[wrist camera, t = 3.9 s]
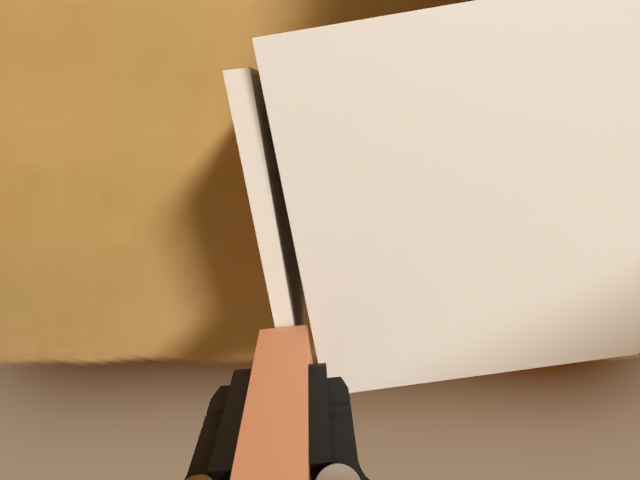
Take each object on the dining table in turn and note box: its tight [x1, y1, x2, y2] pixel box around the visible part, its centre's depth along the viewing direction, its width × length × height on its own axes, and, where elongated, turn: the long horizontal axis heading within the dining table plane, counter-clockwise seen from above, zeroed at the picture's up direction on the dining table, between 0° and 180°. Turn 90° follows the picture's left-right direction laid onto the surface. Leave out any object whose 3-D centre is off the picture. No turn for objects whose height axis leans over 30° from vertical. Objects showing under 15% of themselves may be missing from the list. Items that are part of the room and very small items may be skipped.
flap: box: [223, 67, 313, 480], centre depth 13 cm, size 2×13×18 cm, turn 5°
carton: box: [252, 0, 640, 393], centre depth 16 cm, size 14×14×11 cm
